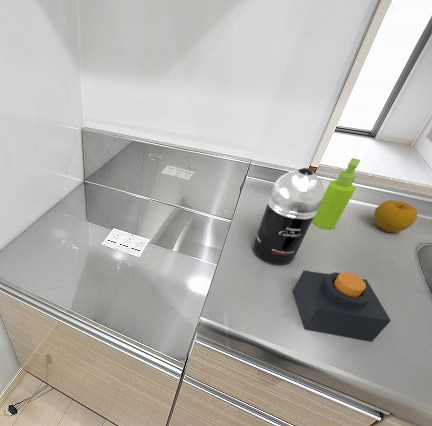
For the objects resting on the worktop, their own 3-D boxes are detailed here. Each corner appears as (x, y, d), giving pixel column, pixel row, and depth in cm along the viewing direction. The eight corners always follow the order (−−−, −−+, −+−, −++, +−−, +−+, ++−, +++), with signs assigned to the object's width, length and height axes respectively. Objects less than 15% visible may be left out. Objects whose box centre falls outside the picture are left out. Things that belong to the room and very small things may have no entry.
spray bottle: (247, 239, 82) (274, 157, 68) (286, 242, 81) (322, 159, 66) (256, 265, 74) (289, 179, 59) (300, 269, 73) (344, 182, 58)
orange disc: (355, 281, 59) (359, 274, 57) (364, 299, 55) (370, 291, 54) (330, 277, 59) (334, 270, 58) (338, 294, 56) (343, 287, 55)
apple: (362, 227, 85) (377, 202, 80) (373, 216, 90) (388, 192, 84) (398, 242, 80) (417, 216, 75) (408, 230, 84) (427, 205, 79)
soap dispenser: (337, 221, 88) (370, 160, 76) (332, 232, 84) (366, 169, 72) (315, 213, 91) (344, 154, 80) (309, 223, 87) (338, 162, 76)
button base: (351, 300, 65) (371, 272, 60) (372, 342, 57) (397, 314, 52) (292, 291, 67) (306, 263, 62) (304, 329, 60) (322, 301, 54)
